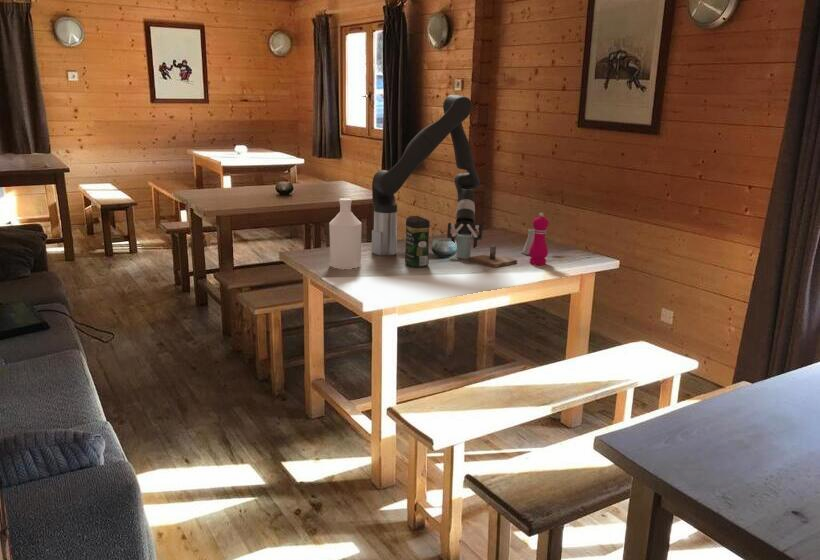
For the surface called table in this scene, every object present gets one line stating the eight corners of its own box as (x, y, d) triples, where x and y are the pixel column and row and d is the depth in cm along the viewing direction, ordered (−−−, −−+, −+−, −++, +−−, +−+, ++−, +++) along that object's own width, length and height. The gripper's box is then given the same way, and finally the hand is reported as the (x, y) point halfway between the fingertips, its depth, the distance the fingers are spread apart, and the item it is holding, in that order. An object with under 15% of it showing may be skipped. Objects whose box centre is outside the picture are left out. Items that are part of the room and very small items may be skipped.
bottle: (359, 261, 259) (359, 196, 253) (363, 269, 248) (364, 201, 242) (328, 262, 257) (327, 196, 250) (331, 270, 246) (330, 201, 239)
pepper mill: (540, 260, 268) (544, 210, 263) (550, 264, 262) (554, 213, 257) (524, 261, 266) (528, 211, 260) (534, 266, 259) (538, 214, 254)
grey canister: (463, 259, 267) (464, 237, 265) (453, 256, 271) (454, 234, 269) (473, 257, 271) (474, 235, 268) (463, 255, 275) (464, 233, 272)
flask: (540, 256, 277) (542, 232, 274) (522, 255, 277) (524, 231, 274) (537, 252, 284) (539, 228, 281) (520, 251, 284) (521, 228, 281)
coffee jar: (401, 262, 259) (402, 214, 254) (420, 261, 262) (421, 213, 258) (412, 268, 251) (413, 219, 246) (431, 267, 254) (433, 218, 249)
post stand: (494, 267, 255) (494, 251, 254) (467, 260, 266) (468, 245, 264) (516, 263, 263) (517, 247, 262) (490, 256, 274) (491, 241, 272)
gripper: (448, 207, 274) (446, 240, 266) (483, 208, 273) (482, 242, 264) (448, 217, 280) (446, 251, 272) (482, 219, 279) (481, 252, 271)
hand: (464, 246), depth 268 cm, fingers open, 7 cm apart
